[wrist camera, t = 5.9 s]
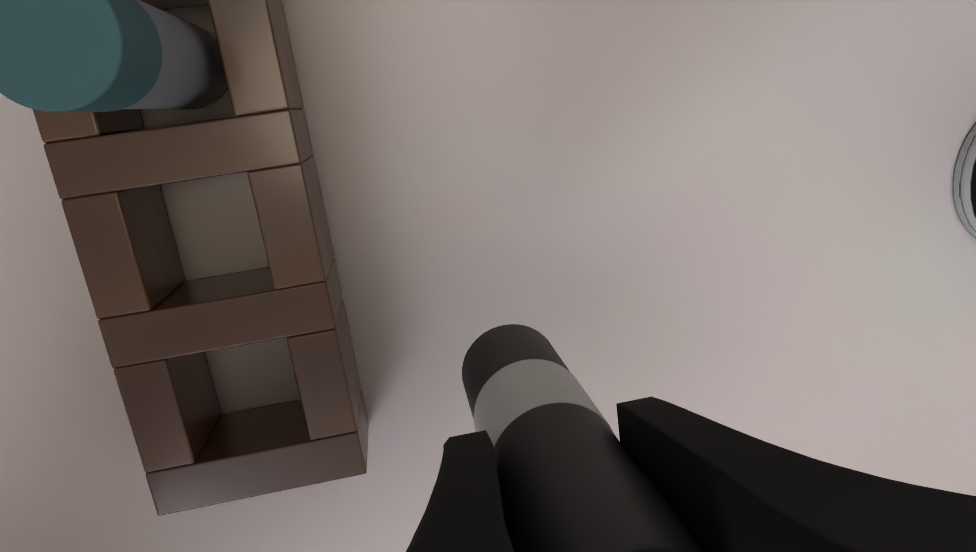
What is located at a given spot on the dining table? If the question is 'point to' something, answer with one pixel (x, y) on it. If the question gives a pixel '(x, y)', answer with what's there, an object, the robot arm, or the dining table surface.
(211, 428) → the marker stand
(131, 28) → the teal marker
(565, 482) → the black marker
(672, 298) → the dining table surface
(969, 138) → the spray can
